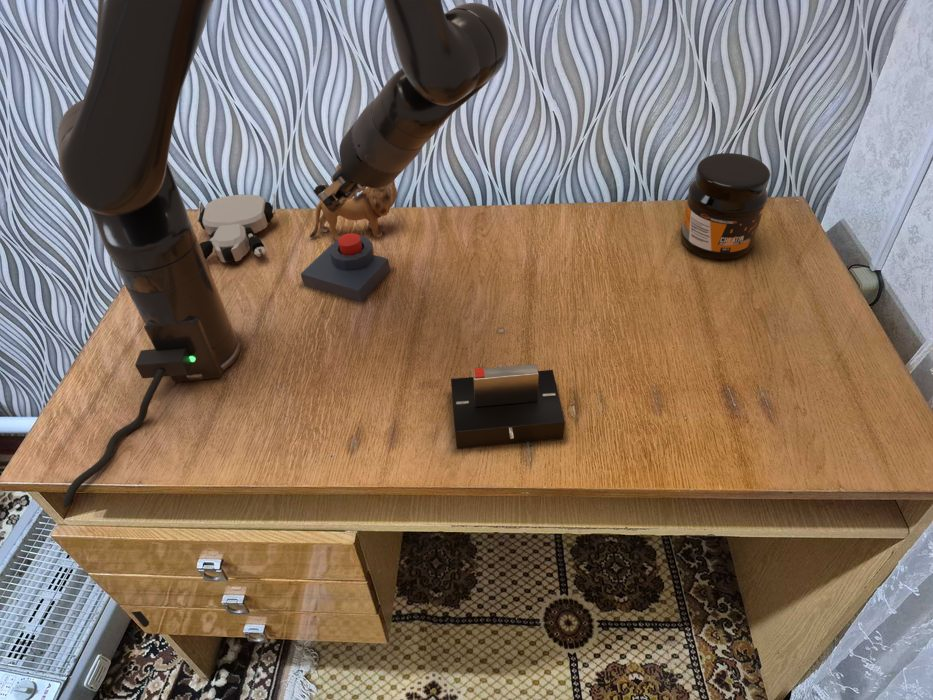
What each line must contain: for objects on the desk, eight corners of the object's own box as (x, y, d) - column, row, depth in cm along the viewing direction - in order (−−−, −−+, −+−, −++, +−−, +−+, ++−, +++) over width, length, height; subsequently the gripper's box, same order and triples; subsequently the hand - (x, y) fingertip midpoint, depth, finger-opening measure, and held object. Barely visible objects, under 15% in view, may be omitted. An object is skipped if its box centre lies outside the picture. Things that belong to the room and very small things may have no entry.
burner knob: (535, 391, 75) (536, 361, 72) (537, 401, 74) (538, 372, 71) (474, 396, 75) (472, 367, 72) (475, 407, 74) (473, 378, 70)
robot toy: (273, 269, 101) (281, 210, 111) (265, 246, 97) (274, 187, 107) (192, 277, 100) (207, 217, 110) (181, 254, 97) (198, 195, 107)
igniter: (394, 265, 99) (391, 243, 96) (361, 302, 93) (356, 280, 90) (339, 251, 102) (334, 229, 99) (303, 285, 96) (297, 263, 93)
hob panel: (549, 377, 81) (550, 358, 78) (566, 450, 73) (567, 432, 70) (451, 386, 80) (449, 367, 78) (457, 460, 72) (455, 442, 70)
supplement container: (683, 262, 96) (699, 188, 87) (674, 221, 103) (688, 150, 95) (759, 263, 94) (782, 189, 86) (745, 222, 102) (765, 150, 93)
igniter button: (366, 245, 96) (364, 235, 95) (354, 258, 94) (352, 248, 93) (348, 241, 97) (346, 231, 96) (336, 253, 95) (333, 243, 94)
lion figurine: (399, 216, 108) (392, 166, 102) (404, 234, 104) (397, 183, 98) (309, 231, 106) (296, 181, 100) (311, 250, 103) (297, 199, 96)
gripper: (400, 91, 78) (346, 160, 92) (321, 138, 71) (275, 205, 85) (440, 143, 79) (380, 203, 94) (366, 194, 72) (314, 251, 86)
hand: (330, 204), depth 89 cm, fingers closed
